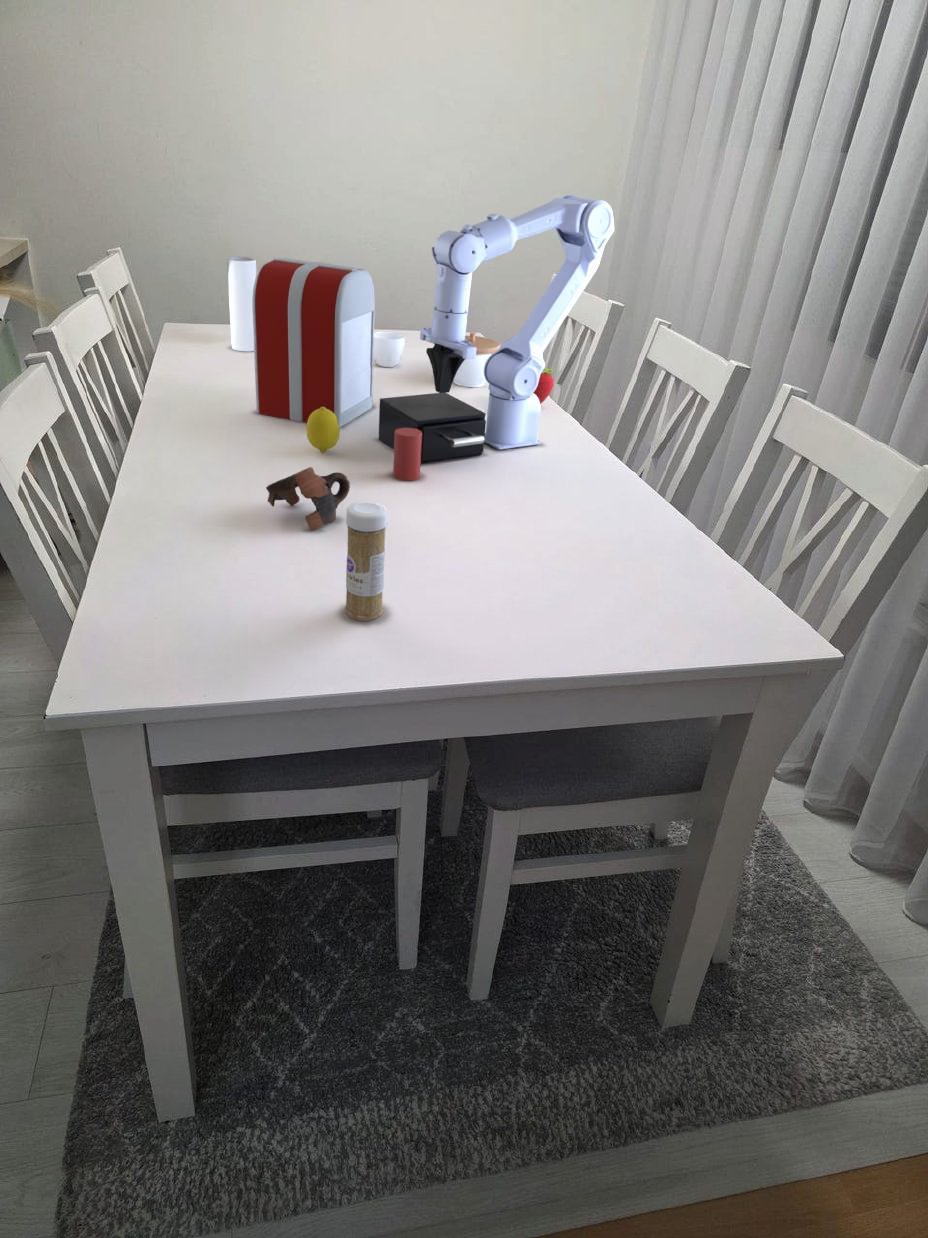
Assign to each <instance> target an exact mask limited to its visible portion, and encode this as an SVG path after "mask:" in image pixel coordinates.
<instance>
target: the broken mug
mask: <svg viewBox="0 0 928 1238" xmlns="http://www.w3.org/2000/svg"><path fill="white" fill-rule="evenodd" d="M335 483H338V485H339V486H338V490H337V492H336V494H334V493H333V491H332V487H333V485H334V484H335ZM267 485H268V486H266V487H265V489H266V491H267V492H268V496H267V502H268V503H269V504H270V506H271V507H274V506H275V501H286V503H287V504H288V505H290V506H291V507H294V506H296V505H297V504H298V503H299V502H300V500H301V499H300V496H299V495H298V493H297V490H296V489H297V488H298V489H299V491H300V494H301V496H303V497H304V498H305V499H309V500H311V502H312V503H313V505H314V507H315V510H314V511H313V512H311V513H309V514H307V515H305V516H304V520H305V521H306V523H307V526H308V528H309V530H310V531H314V530H317V529H320V528H322V527H324V526H326V525H328V524H331V523H334V522H335V521H336V520H337V509H338V507H339V505H340V504H341V503H342V502H343V501H344V500H345V499H346V498H347V496H348V495H349V492H350V487H351V483H350V480H349V479H348V477H347V475H345V474H344V473H343V472H332V473H329V474H327V475H319V474H316V472H315V470H314V468H313V467H311V466H310V467H307V468H305V469H302V470H301V471H298V472H296V473H293V474H292V475H289V476H287V477H285V478H282V479H279V480H277V481H274V482H273V483H270V484H267Z"/></svg>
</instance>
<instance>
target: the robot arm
mask: <svg viewBox="0 0 928 1238" xmlns="http://www.w3.org/2000/svg"><path fill="white" fill-rule="evenodd" d="M554 229H555V230H556V233H557V236H558V238H559V240H560V243H561V246H562V248H563V251H564V255H565V260H564V262H563V263H562V265H561V267H560V268H559V270H558V271H557V273H556V274H555V276H554V278H553V279H552V281H551V282H550V283H549V285H548V286H547V288H546V290H545V291H544V293H543V295H542V296H541V297H540V299H539V300H538V302H537V304H536V306H535V307H534V308H533V310H532V311H531V313H530V315H529V316H528V317H527V320H526V321H525V322H524V324H523V325H522V327H521V328H520V330H519V332H517V335H516V336H514V337H511V338H510V339H507V340H505V341H504V342H502V344H500V348H499V349H498V350H497V351H496V352H494V353H493V354H491V355H490V356H489V358H488V359H487V360H486V362H485V365H484V377H485V379H486V381H487V382H486V383H488V390H489V391H488V392H489V393H488V403H487V414H486V415H487V416H486V426H485V437H484V443H485V444H488V445H490V446H491V447H493V448H495V449H497V450H508V449H515V448H522V447H527V446H535V445H536V446H537V445H540V441H539V440H538V439H539V430H540V422H541V413H542V407H541V404H540V401H539V399H538V397H537V396H536V395H535V394H534V393H533V392H534V391H535V389H536V388H537V385H538V382H539V378H540V375H541V373H542V371H543V369H544V370H545V368H546V364H545V363H546V362H544V361H545V360H544V356H543V353H544V351H545V350H546V348H547V347H548V345H549V344H550V342H551V341H552V339H553V338H554V336H555V334H556V333H557V331H558V330H559V328H560V327H561V325H562V324H563V323H564V320H565V319H566V318H567V316H568V315H569V313H570V311H572V309H573V307H574V305H575V304H576V303H577V301H578V300H579V298H580V296H581V294H582V293H583V291H584V290H585V288H586V287H587V285H588V284H589V283H590V281H591V279H592V278H593V276H594V275H595V273H596V272H597V270H598V268H599V266H600V263H601V259H602V256H603V252H604V249H605V246H606V244H607V243H608V241H609V239H610V238H611V236H612V235H613V234H614V232H615V222H614V213H613V209H612V207H611V205H610V204H609V202H607V201H605V200H602V199H598V200H596V199H592V198H591V199H590V198H586V197H580V196H577V195H574V194H566V195H564V196H562V197H555V198H553V199H552V200H551V201H549V202H547V203H544V204H542V205H540V206H537V207H535V208H533V209H531V210H528V211H526V212H524V213H522V214H520V215H517V216H515V217H513V218H511V219H508V218H507V217H506V216H504V215H501V214H500V215H498V214H496V213H490V214H488V215H486V220H483V221H480V222H477V223H474V224H473V225H471V224H468V223H467V224H464V225H462V229H460V231H455V230H446V231H444V232H442V233H441V234H440V236H439V237H438V238H436V241H435V244H434V246H432V247H431V254H432V255H431V256H432V258H433V261H434V262H435V265H436V271H435V272H436V273H435V274H436V280H435V291H434V302H433V310H432V311H433V313H432V320H431V321H432V322H431V327H420V335H419V340H421V341H425V342H428V343H430V344H433V346H432V347H427V348H426V355H427V357H428V359H429V362H430V366H431V371H432V375H433V383H434V389H435V392H436V393H447V394H449V393H450V391H451V389H452V385H453V384H454V383H453V380H454V378H455V375H456V373H457V371H458V369H459V367H460V366H461V364H462V363H463V361H464V360H465V359H475V358H476V349H477V347H475V346H473V345H472V344H470V343H469V342H468V341H467V340H466V339H465V336H466V331H467V322H468V314H469V304H470V295H471V287H472V279H473V278H472V277H473V272H475V271H476V270H477V269H478V267H479V266H480V265H481V263H483V262H485V261H488V260H491V259H494V258H496V257H499V256H501V255H504V254H506V253H508V252H511V251H513V248H514V247H515V244H516V242H517V241H519V240H522V239H525V238H529V237H531V236H535V235H538V234H541V233H545V232H547V231H550V230H554Z"/></svg>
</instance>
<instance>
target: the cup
mask: <svg viewBox="0 0 928 1238" xmlns="http://www.w3.org/2000/svg"><path fill="white" fill-rule="evenodd" d="M405 340H406V335H404V334H403V333H399V332H395V331H374V358H373V362H376V363H377V365H378V366H379V367H383V368H384V367H385V368H393V367H396V366H397V365H398V363H399V362H400V360H401V359H402V357H403V354H404V350H405V345H406V344H405V343H406V341H405Z"/></svg>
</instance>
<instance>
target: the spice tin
mask: <svg viewBox="0 0 928 1238" xmlns="http://www.w3.org/2000/svg"><path fill="white" fill-rule="evenodd" d="M421 446H422V432H421V431H420V430H418V429H414V428H399V429H396V430H395V438H394V450H393V467H392V476H393V478H395V479H397V480H398V481H399V480H400V481H409V482H411V481H417V480H419V479H420V477H421V465H422V464H421Z"/></svg>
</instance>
